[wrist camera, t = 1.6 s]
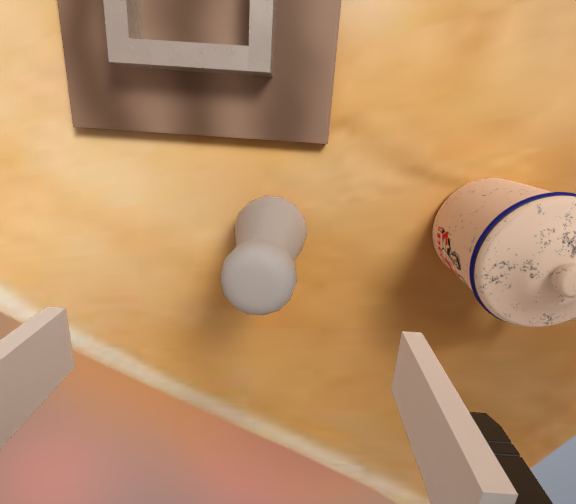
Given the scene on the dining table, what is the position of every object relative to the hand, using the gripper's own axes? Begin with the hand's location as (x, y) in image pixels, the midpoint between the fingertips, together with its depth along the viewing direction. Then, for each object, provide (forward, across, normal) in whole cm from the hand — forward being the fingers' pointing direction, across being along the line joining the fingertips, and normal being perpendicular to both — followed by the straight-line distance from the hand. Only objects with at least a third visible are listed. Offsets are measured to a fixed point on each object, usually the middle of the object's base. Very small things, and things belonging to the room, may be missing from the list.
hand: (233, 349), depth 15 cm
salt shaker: (+19, 0, 0) cm, 19 cm away
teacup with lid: (+19, +19, 0) cm, 27 cm away
